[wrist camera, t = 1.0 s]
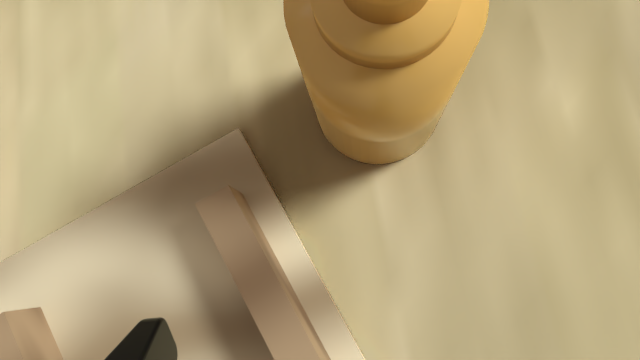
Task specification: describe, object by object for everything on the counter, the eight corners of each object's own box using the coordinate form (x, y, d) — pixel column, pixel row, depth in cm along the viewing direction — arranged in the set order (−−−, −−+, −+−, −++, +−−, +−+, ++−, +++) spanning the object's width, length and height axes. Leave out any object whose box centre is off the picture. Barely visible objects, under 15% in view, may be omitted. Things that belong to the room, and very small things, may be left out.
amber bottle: (464, 124, 23) (583, -44, 11) (354, 187, 23) (339, 93, 11) (399, 22, 24) (436, -244, 12) (293, 82, 24) (213, -119, 12)
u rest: (397, 418, 22) (402, 442, 19) (99, 586, 22) (57, 637, 19) (241, 130, 24) (223, 112, 21) (-26, 281, 24) (-81, 284, 21)
